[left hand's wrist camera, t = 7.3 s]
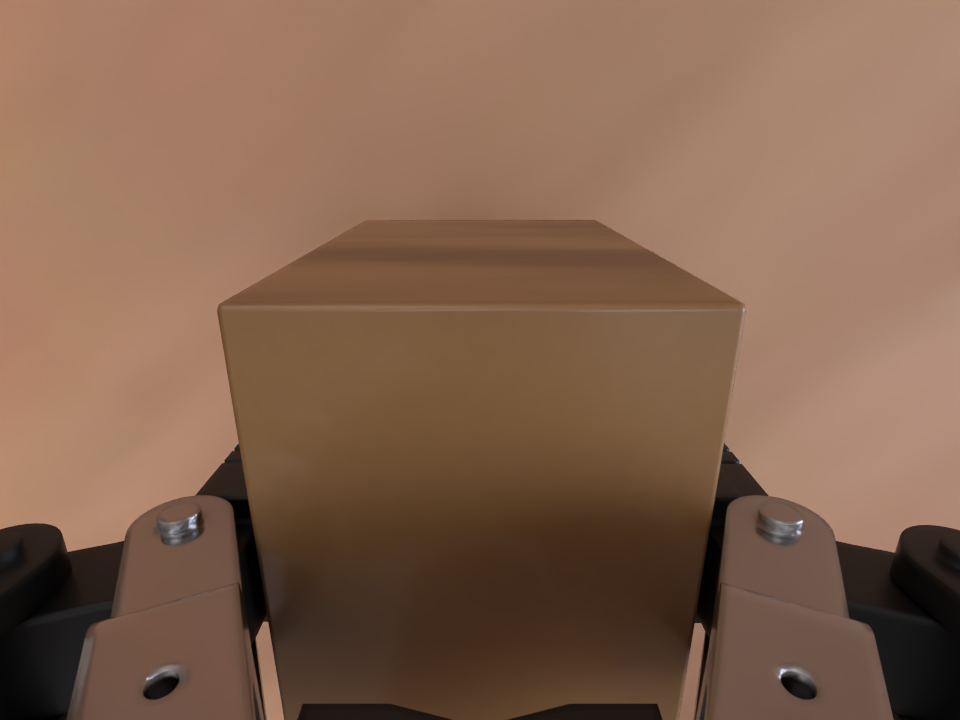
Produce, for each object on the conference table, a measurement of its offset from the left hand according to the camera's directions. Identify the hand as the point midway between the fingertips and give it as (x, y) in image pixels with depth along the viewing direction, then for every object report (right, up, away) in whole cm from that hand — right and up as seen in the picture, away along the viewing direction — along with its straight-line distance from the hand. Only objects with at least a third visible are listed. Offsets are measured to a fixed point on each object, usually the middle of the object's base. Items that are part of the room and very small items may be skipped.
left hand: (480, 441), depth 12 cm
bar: (0, -6, +7) cm, 9 cm away
